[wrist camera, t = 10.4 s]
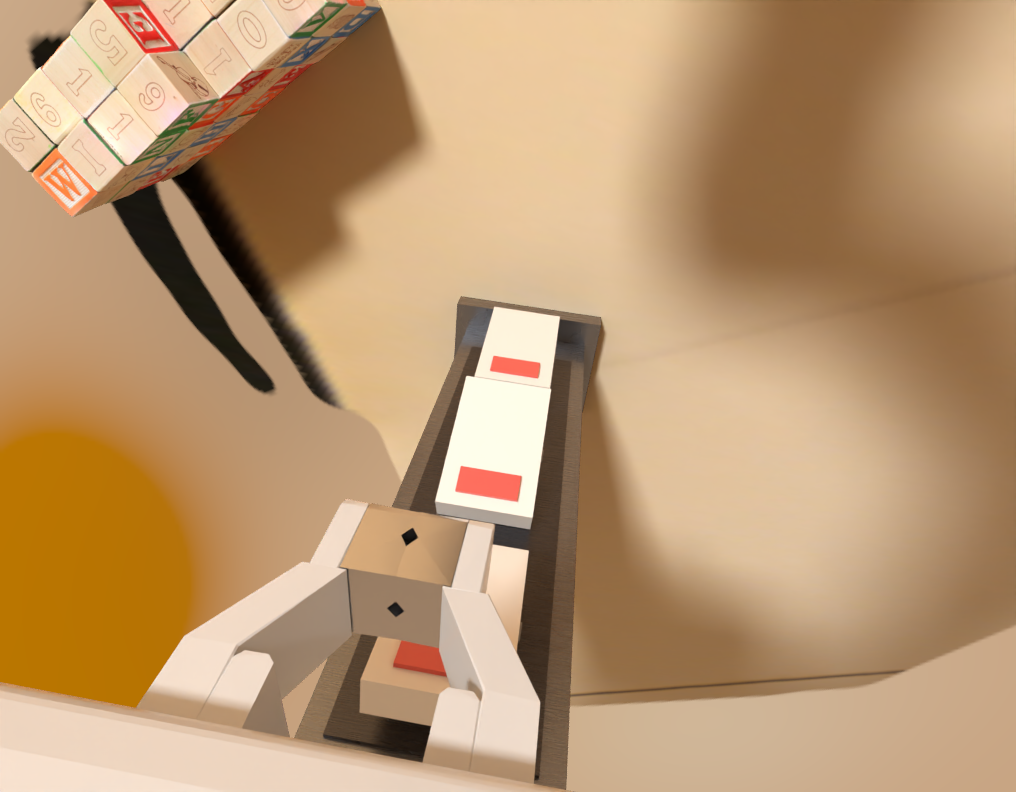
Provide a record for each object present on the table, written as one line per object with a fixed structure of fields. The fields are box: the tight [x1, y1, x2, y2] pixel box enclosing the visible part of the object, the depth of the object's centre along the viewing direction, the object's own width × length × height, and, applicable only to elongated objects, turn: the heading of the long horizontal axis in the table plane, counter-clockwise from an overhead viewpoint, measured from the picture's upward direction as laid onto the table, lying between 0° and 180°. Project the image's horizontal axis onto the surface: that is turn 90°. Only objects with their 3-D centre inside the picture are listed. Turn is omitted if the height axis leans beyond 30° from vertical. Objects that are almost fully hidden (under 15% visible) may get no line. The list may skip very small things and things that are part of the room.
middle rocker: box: [435, 376, 551, 529], centre depth 32 cm, size 2×5×8 cm, turn 84°
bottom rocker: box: [475, 307, 560, 389], centre depth 41 cm, size 2×5×8 cm, turn 84°
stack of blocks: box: [0, 0, 381, 217], centre depth 36 cm, size 21×6×12 cm, turn 122°
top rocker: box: [360, 545, 529, 726], centre depth 23 cm, size 2×5×8 cm, turn 84°
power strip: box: [294, 297, 601, 790], centre depth 35 cm, size 10×12×40 cm
